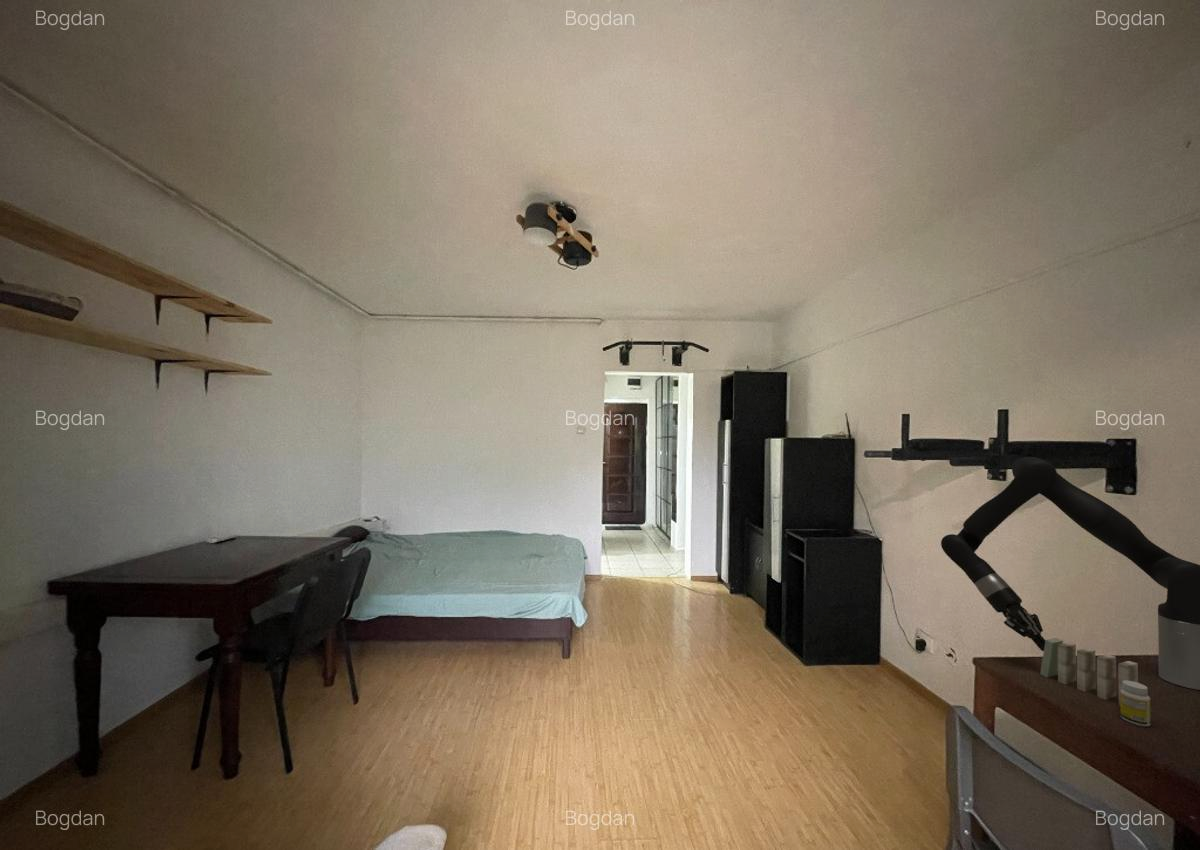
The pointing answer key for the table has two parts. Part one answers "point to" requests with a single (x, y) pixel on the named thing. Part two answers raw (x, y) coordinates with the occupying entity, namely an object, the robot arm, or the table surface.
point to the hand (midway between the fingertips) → (1047, 649)
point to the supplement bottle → (1135, 703)
